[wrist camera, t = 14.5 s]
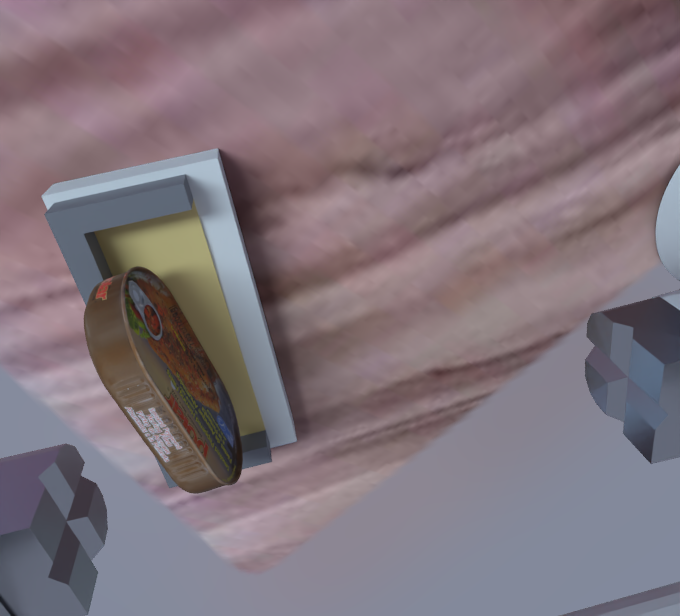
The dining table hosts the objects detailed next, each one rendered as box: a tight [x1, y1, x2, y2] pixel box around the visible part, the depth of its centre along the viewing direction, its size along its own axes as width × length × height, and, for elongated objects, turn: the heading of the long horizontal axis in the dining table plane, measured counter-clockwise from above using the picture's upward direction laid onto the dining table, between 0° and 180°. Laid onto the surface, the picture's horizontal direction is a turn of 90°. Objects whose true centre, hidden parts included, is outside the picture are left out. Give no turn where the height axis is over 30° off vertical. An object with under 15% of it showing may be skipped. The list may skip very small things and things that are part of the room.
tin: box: [84, 266, 243, 493], centre depth 34 cm, size 15×3×8 cm, turn 19°
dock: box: [42, 148, 297, 488], centre depth 38 cm, size 10×22×4 cm, turn 10°
